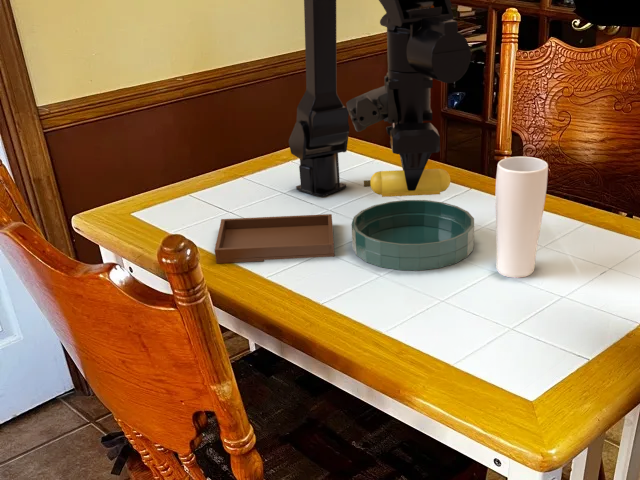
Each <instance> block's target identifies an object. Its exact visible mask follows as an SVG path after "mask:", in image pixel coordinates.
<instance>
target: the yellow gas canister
mask: <svg viewBox="0 0 640 480" xmlns="http://www.w3.org/2000/svg"><path fill="white" fill-rule="evenodd" d="M450 185H451V176H450V174H449V172H448V171H447V170H445V169H443V168H424V171H423V173H422V175H421V178H420V180H419V182H418V185H417V187H416V189H415V190H414V191H409V190H408V189H407V184H406V179H405V174H404V170H403V169H402V170H401V169H399V170H398V169H397V170H380V171H376V172H374V173H373V174H372V176H371V177H370V178H369V179H368V180H367V179H366V180H363V188H370V189H371V190H372V192H373V193H374V194H377V195H379V196H381V197H382V198H389V197H391V198H392V197H409V196H411V197H412V196H413V197H414V196H433V195H435V196H436V195H441V193H443V192H445V191H446V190H448V189H449V187H450Z"/></svg>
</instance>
